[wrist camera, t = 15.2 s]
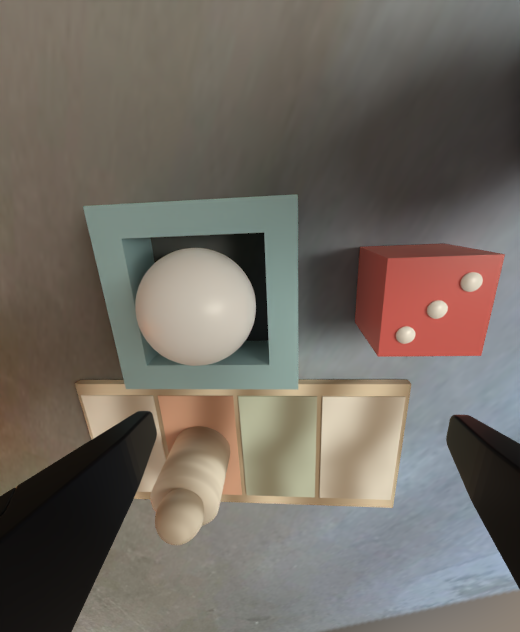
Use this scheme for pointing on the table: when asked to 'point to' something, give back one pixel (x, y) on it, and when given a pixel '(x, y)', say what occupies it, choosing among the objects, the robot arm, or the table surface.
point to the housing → (137, 258)
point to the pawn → (190, 484)
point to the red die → (426, 298)
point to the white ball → (195, 306)
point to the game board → (276, 436)
